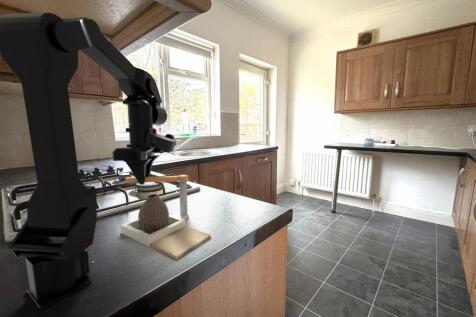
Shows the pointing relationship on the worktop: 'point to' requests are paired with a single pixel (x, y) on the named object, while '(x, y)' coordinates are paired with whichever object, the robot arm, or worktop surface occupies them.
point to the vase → (153, 214)
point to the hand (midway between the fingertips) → (144, 183)
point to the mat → (180, 241)
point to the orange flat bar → (159, 179)
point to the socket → (175, 221)
